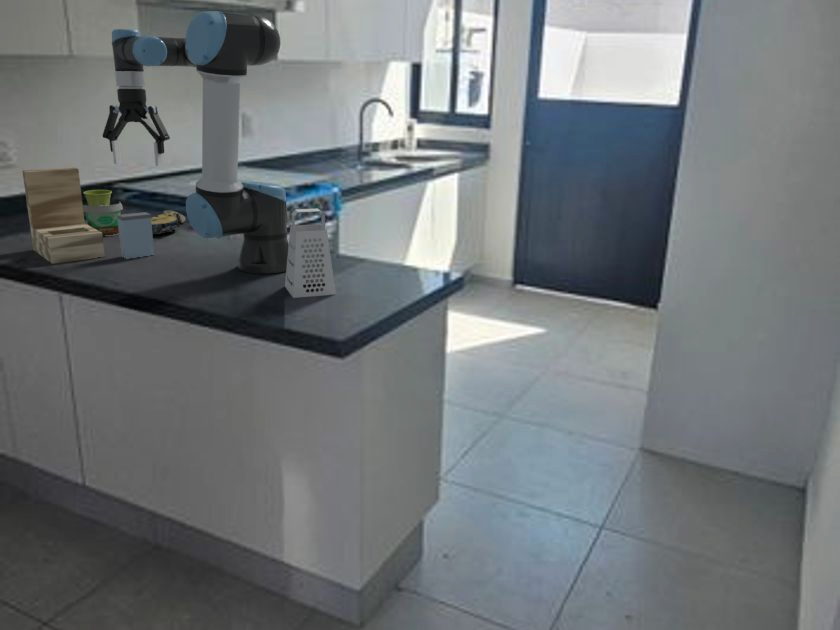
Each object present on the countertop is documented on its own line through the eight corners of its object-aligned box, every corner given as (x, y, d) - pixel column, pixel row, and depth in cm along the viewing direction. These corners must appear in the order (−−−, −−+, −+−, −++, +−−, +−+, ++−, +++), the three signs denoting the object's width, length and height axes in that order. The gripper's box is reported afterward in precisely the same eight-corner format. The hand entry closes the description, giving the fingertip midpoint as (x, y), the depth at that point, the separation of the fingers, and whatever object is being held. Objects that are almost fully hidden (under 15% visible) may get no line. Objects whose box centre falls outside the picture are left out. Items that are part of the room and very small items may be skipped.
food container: (92, 239, 236) (88, 207, 233) (85, 236, 240) (81, 204, 237) (131, 234, 244) (128, 203, 240) (124, 231, 248) (121, 201, 245)
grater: (335, 294, 185) (334, 213, 179) (293, 297, 181) (290, 215, 175) (325, 283, 194) (324, 205, 188) (284, 286, 191) (282, 207, 184)
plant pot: (119, 214, 275) (117, 190, 272) (103, 219, 266) (101, 194, 264) (97, 213, 277) (94, 189, 274) (80, 217, 268) (77, 193, 265)
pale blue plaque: (154, 255, 218) (150, 214, 214) (126, 259, 213) (122, 217, 209) (149, 252, 221) (145, 212, 217) (121, 256, 216) (117, 214, 212)
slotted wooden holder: (104, 256, 215) (95, 175, 208) (52, 263, 207) (40, 179, 200) (83, 243, 230) (74, 167, 223) (33, 249, 221) (22, 170, 214)
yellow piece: (197, 203, 264) (162, 220, 236) (201, 219, 266) (167, 238, 238) (159, 208, 266) (120, 225, 238) (163, 224, 268) (125, 243, 240)
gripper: (178, 88, 213) (184, 164, 220) (101, 87, 219) (109, 161, 226) (163, 88, 206) (169, 167, 213) (84, 87, 212) (92, 164, 219)
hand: (138, 164), depth 219 cm, fingers open, 13 cm apart
